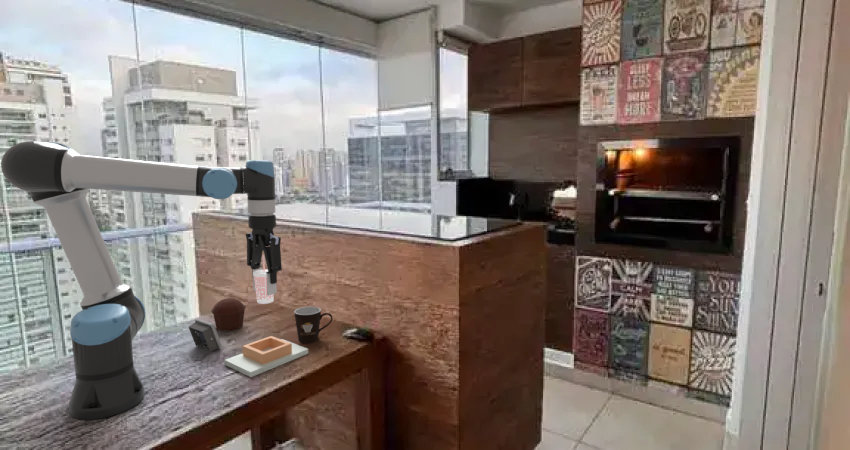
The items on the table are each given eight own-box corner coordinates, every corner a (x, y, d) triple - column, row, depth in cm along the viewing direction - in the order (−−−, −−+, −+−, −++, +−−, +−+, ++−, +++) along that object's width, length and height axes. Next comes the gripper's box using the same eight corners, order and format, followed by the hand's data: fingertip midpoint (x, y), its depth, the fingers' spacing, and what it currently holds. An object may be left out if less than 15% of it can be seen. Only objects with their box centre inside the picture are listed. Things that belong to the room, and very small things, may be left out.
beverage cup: (275, 297, 141) (273, 252, 139) (276, 303, 135) (275, 256, 133) (254, 299, 139) (252, 253, 137) (254, 305, 133) (252, 257, 131)
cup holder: (250, 377, 128) (250, 361, 127) (224, 364, 135) (224, 350, 135) (308, 353, 144) (307, 339, 143) (282, 343, 151) (281, 330, 151)
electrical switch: (223, 348, 147) (218, 321, 145) (207, 356, 143) (203, 328, 141) (205, 342, 152) (201, 316, 150) (190, 349, 148) (186, 322, 146)
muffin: (217, 321, 171) (215, 295, 169) (248, 320, 173) (247, 294, 171) (208, 333, 159) (206, 305, 158) (242, 331, 161) (241, 304, 160)
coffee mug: (290, 343, 152) (289, 313, 150) (303, 333, 160) (302, 305, 159) (322, 346, 149) (322, 316, 148) (334, 336, 157) (333, 308, 156)
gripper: (293, 215, 131) (296, 295, 134) (254, 210, 142) (257, 284, 145) (271, 218, 125) (273, 301, 128) (231, 212, 136) (235, 289, 139)
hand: (264, 291), depth 137 cm, fingers closed on beverage cup, 6 cm apart
